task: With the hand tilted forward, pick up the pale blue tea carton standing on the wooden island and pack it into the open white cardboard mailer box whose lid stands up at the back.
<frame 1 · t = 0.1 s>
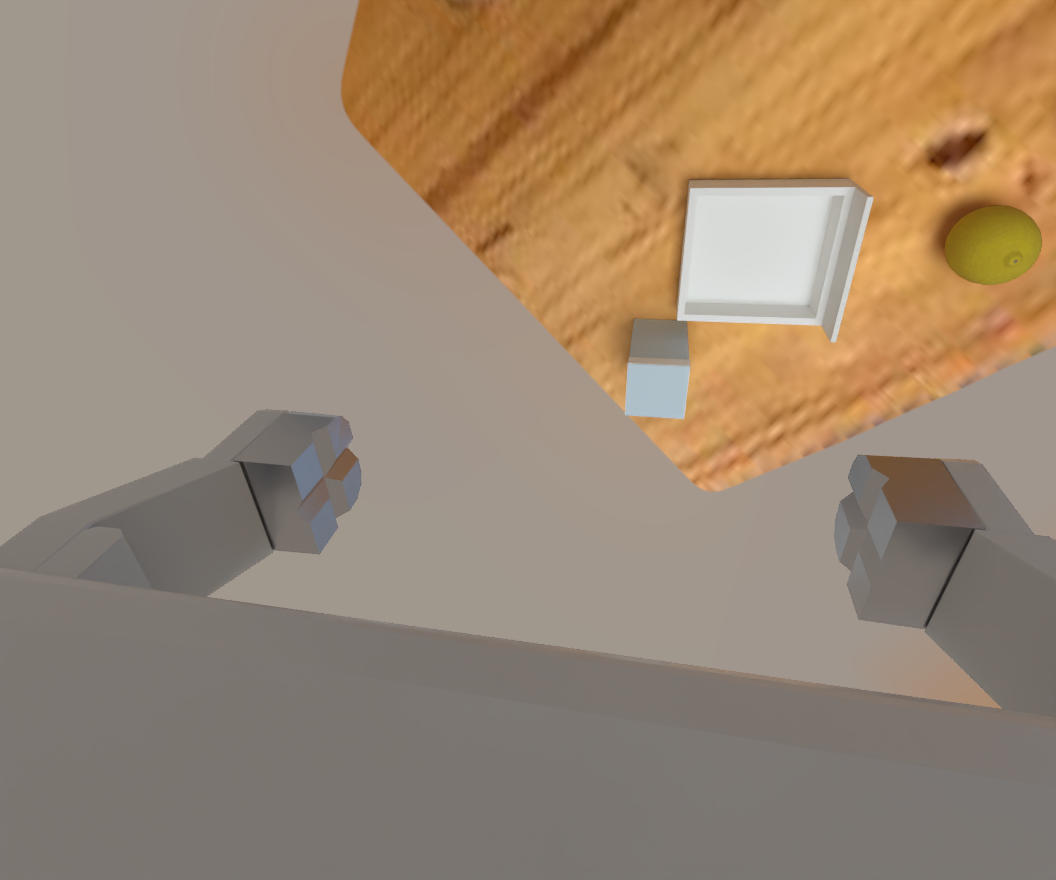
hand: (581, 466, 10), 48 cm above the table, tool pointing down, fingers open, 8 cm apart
mailer: (753, 247, 52), on the table
lemon: (968, 230, 49), on the table
carton: (658, 343, 59), on the table
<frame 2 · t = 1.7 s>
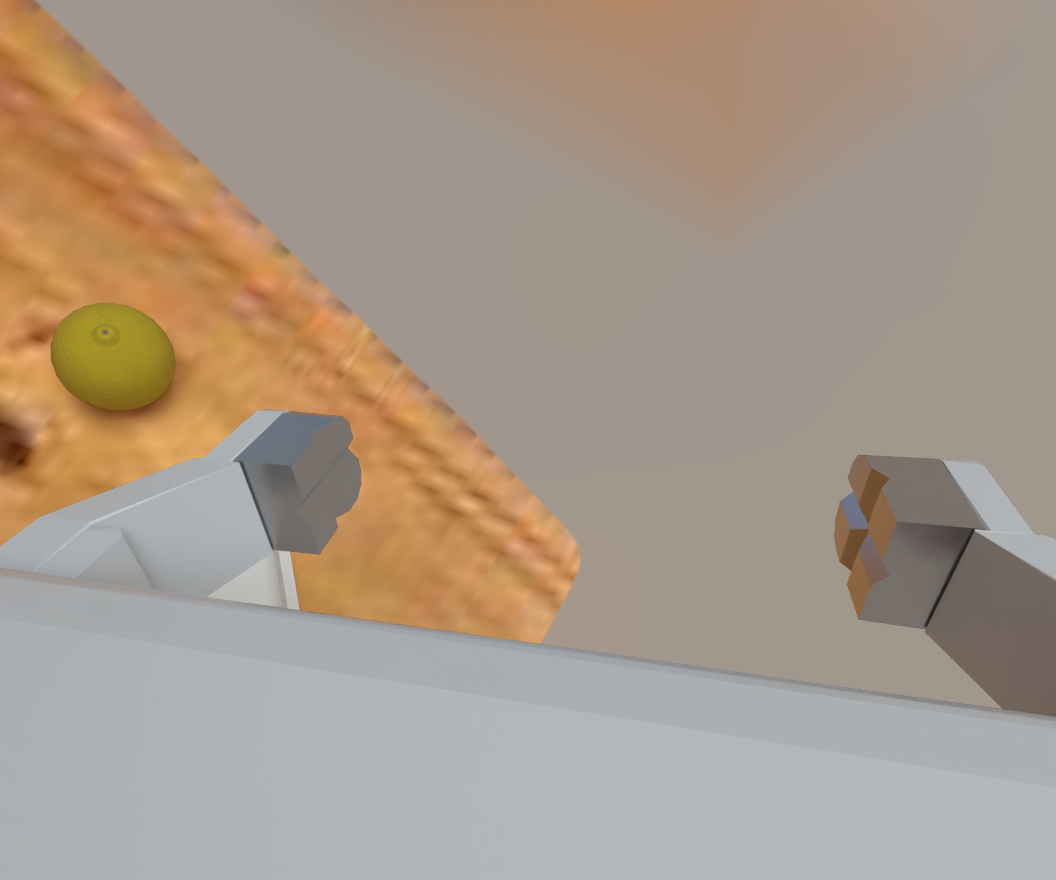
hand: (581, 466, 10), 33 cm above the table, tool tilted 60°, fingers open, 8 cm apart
mailer: (193, 648, 35), on the table
lemon: (125, 380, 36), on the table
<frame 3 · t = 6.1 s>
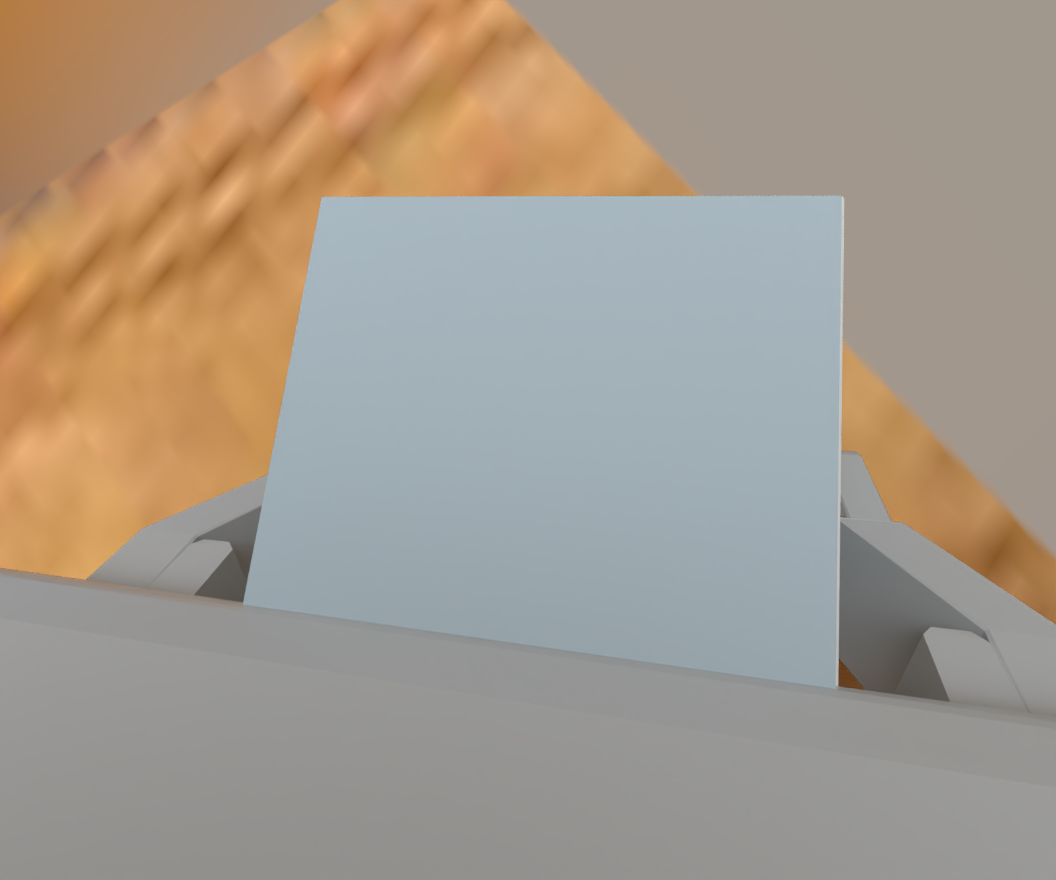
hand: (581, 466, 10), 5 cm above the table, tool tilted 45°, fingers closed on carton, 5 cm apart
carton: (597, 526, 15), on the table, touching gripper
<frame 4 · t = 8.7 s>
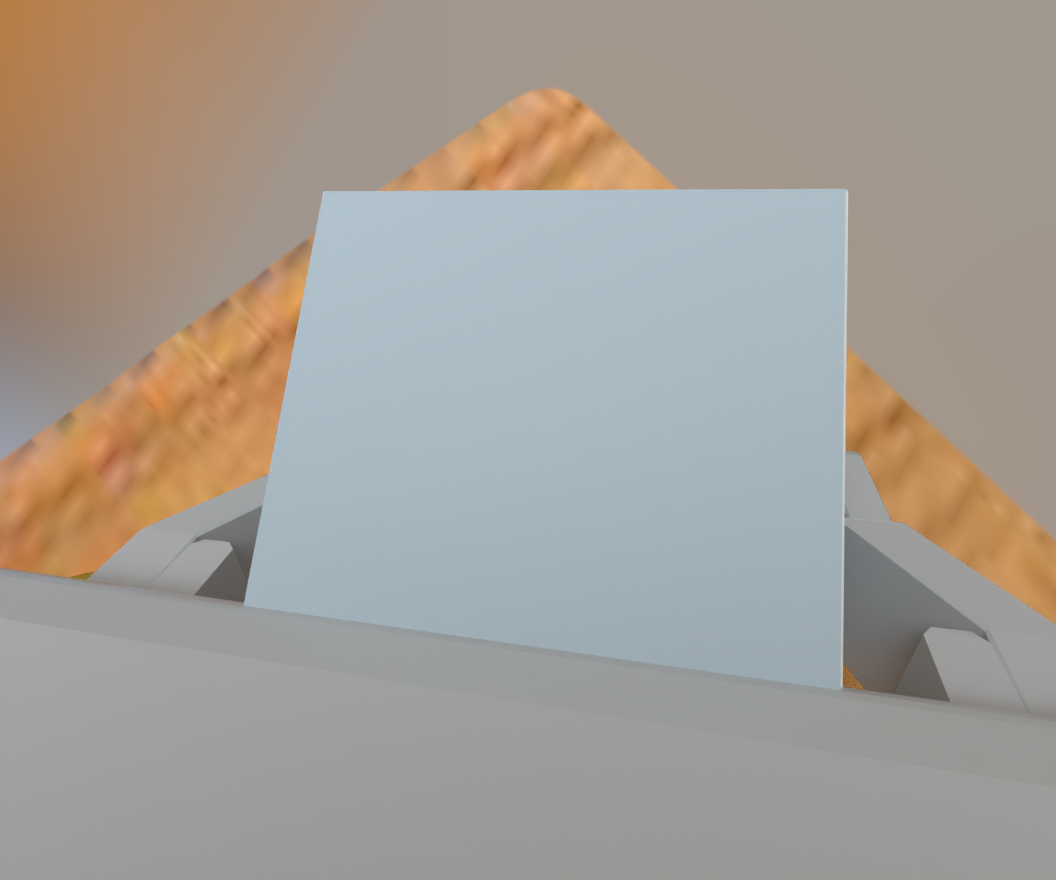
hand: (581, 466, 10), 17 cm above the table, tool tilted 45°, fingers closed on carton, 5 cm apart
carton: (598, 523, 15), point 12 cm above the table, touching gripper
when the fingers open (7 cm above the table, at t = 11.5 s): carton drops 2 cm, resting on mailer.
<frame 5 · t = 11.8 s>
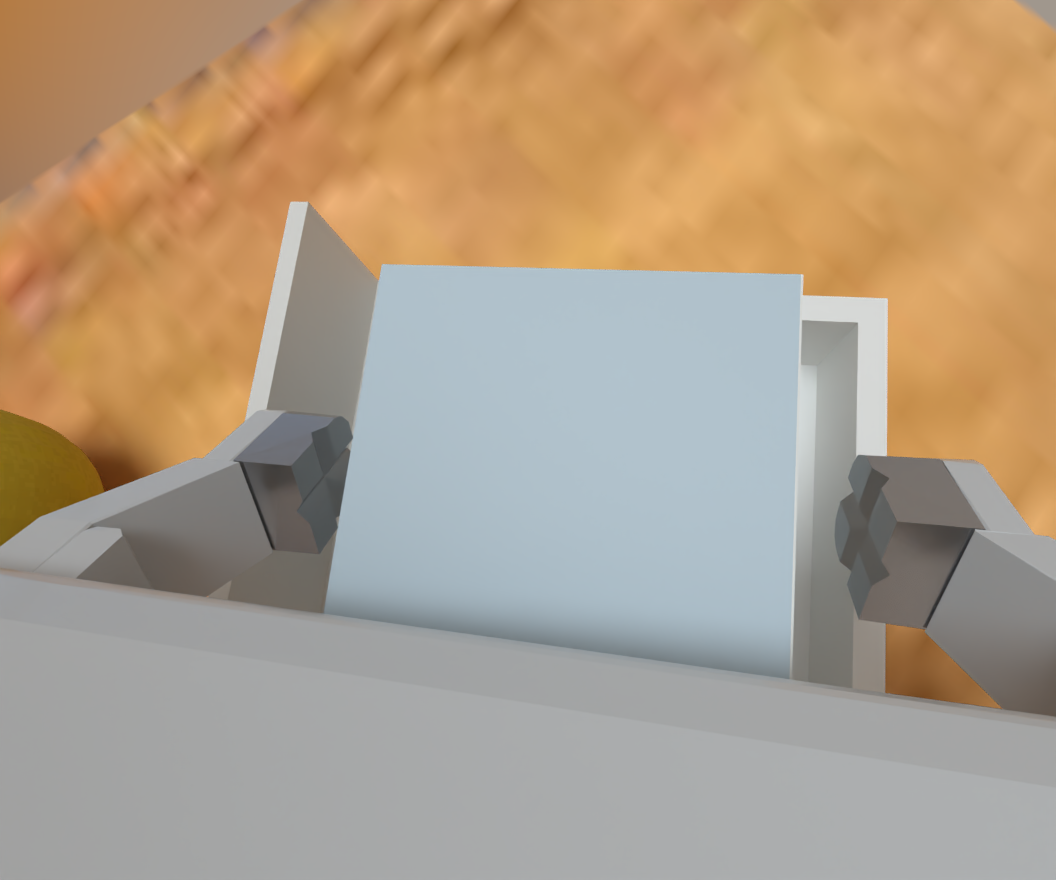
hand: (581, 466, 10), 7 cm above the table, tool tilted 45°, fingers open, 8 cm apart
mailer: (598, 528, 17), on the table
lemon: (95, 520, 20), on the table
carton: (599, 527, 16), resting on mailer
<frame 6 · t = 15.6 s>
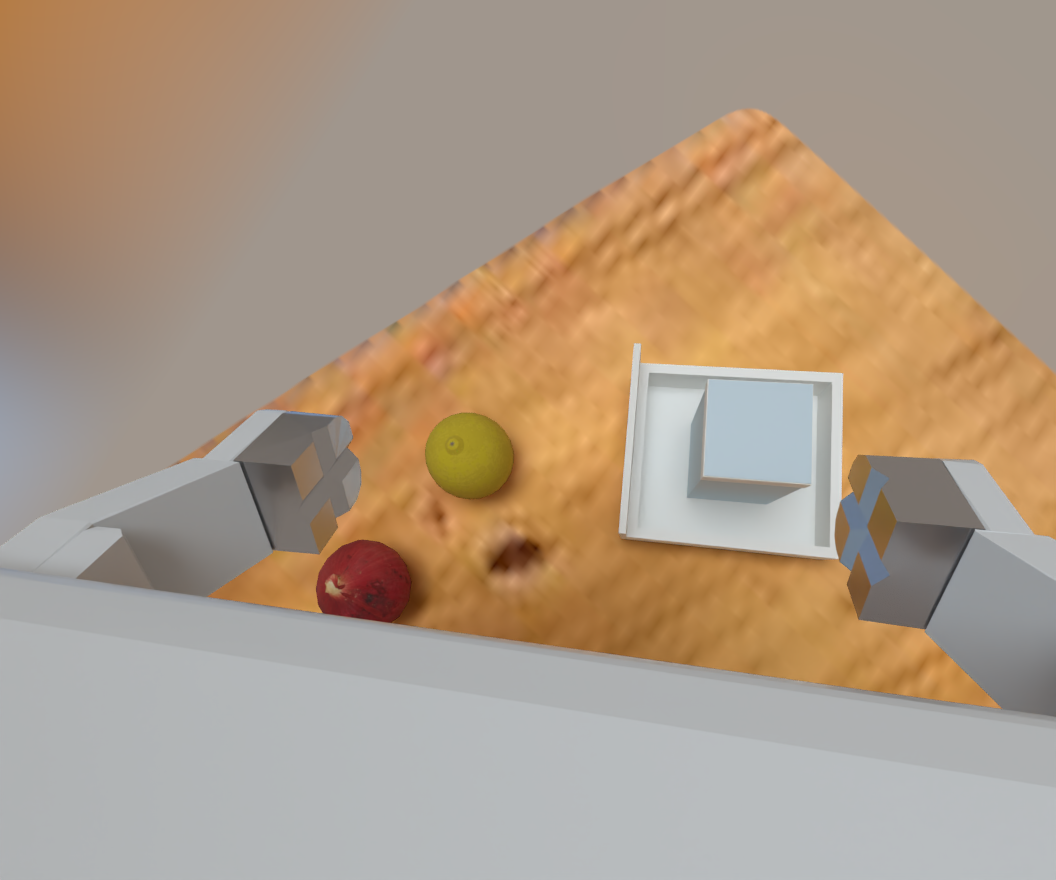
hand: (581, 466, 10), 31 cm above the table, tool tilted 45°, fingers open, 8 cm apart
mailer: (725, 464, 40), on the table
onion: (388, 584, 42), on the table
lemon: (485, 466, 43), on the table
carton: (727, 463, 39), resting on mailer
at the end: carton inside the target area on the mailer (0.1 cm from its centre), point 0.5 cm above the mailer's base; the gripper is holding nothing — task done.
